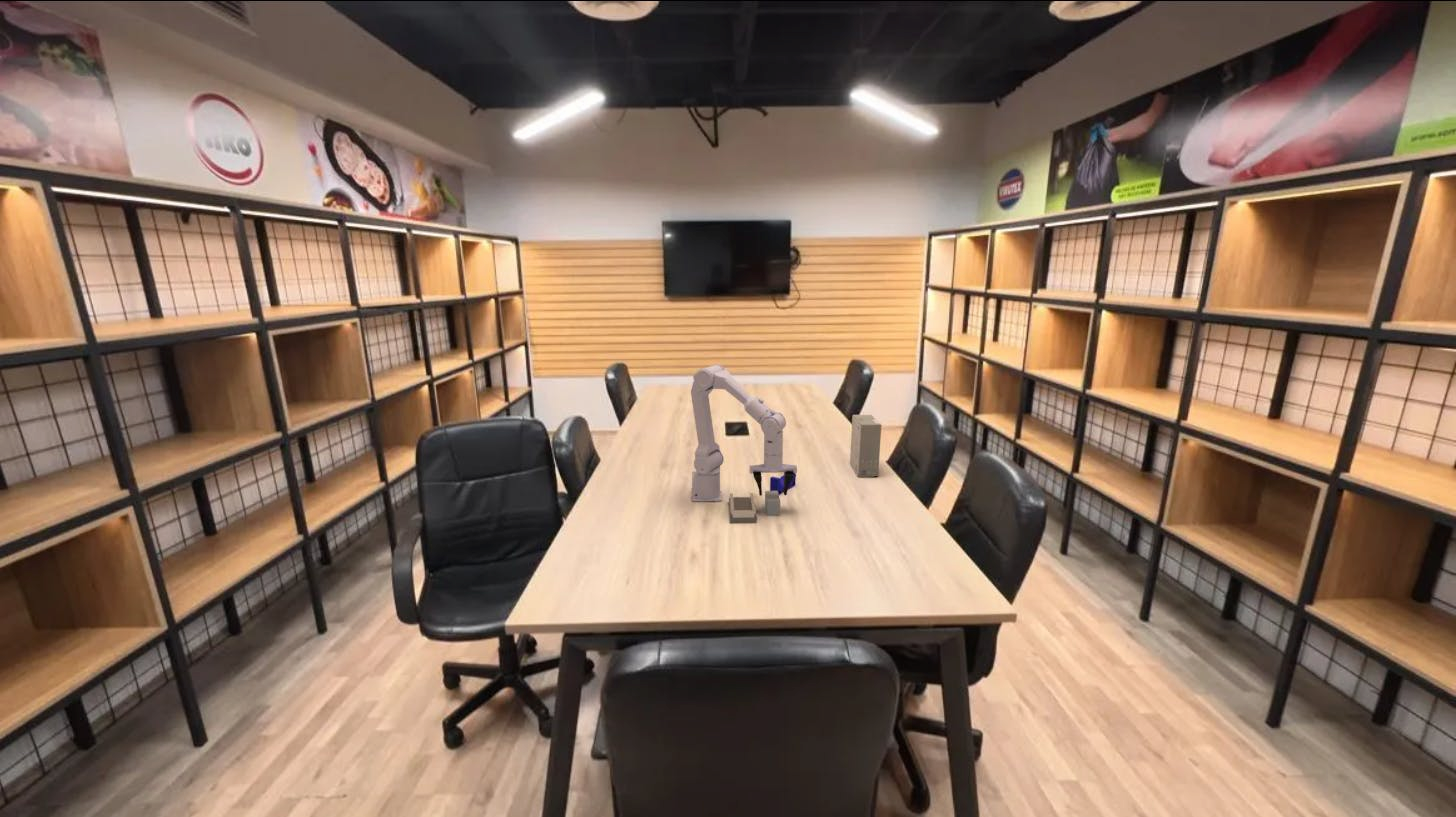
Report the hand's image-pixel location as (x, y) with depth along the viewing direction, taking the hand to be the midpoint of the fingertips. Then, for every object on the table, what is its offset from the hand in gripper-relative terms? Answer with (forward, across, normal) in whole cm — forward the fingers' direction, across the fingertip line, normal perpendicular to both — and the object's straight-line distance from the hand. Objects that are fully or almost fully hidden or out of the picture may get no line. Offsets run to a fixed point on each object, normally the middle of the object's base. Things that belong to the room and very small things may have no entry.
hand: (772, 494), depth 174 cm
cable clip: (+6, +5, +18) cm, 19 cm away
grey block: (+6, 0, 0) cm, 6 cm away
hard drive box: (+6, +38, +35) cm, 52 cm away
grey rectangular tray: (+5, -10, -1) cm, 11 cm away
